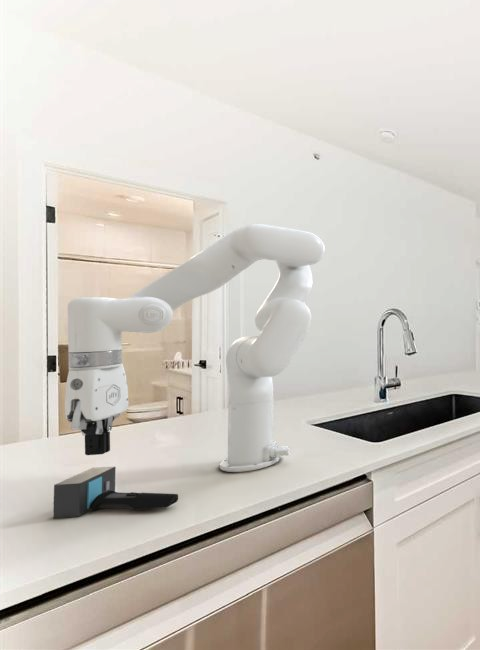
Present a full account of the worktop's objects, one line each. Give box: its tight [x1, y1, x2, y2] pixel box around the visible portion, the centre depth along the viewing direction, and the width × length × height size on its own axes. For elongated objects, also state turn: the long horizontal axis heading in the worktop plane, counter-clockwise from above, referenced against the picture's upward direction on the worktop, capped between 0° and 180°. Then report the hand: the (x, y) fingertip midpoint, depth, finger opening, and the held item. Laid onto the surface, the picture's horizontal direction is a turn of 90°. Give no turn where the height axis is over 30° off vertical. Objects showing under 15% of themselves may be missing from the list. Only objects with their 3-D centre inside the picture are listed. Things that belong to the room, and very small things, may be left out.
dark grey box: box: [52, 466, 117, 519], centre depth 81 cm, size 4×6×9 cm
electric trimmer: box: [89, 490, 179, 512], centre depth 81 cm, size 4×16×3 cm, turn 88°
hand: (97, 453), depth 84 cm, fingers closed
